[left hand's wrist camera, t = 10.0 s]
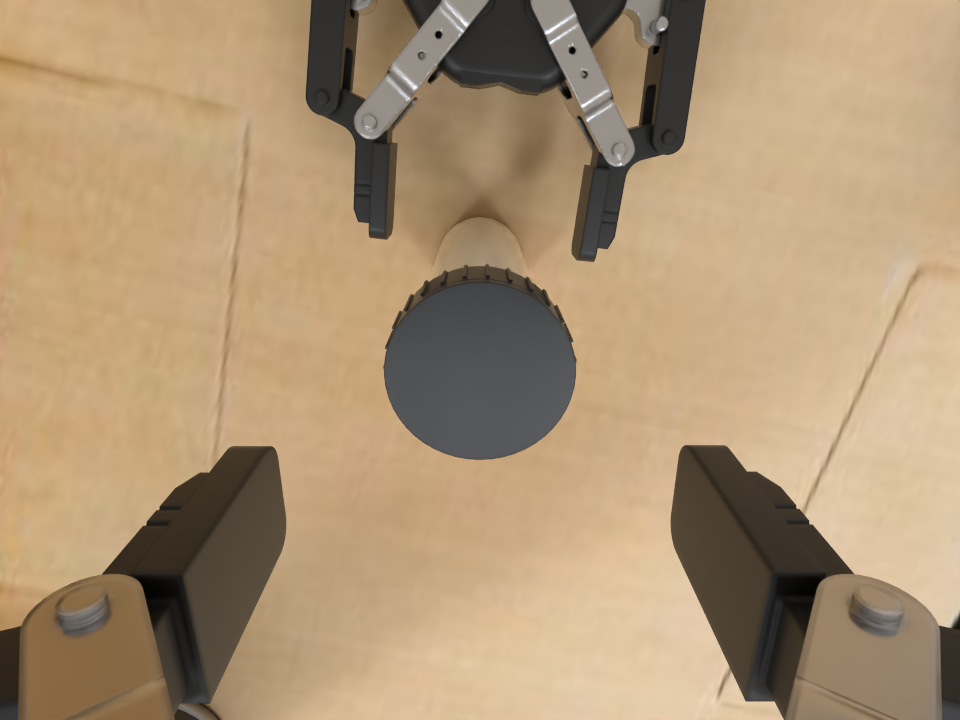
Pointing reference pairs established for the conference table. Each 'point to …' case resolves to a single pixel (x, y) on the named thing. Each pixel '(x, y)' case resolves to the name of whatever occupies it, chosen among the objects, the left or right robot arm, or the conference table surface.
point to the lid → (479, 363)
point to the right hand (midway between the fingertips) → (482, 247)
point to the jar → (479, 248)
